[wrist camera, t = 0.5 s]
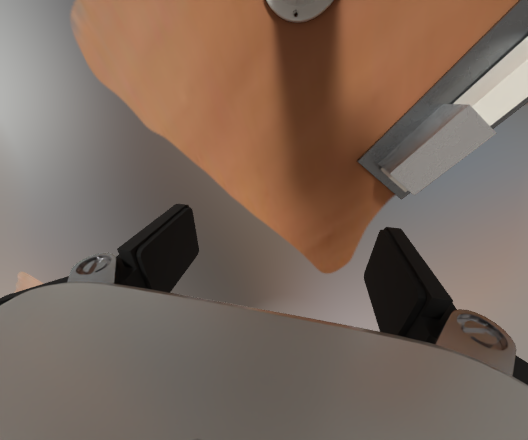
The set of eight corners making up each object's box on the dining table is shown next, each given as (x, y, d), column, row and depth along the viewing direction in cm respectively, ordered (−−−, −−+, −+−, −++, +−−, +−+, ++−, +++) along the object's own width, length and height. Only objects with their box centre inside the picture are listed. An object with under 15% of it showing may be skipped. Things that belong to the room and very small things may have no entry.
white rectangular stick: (395, 182, 39) (405, 192, 35) (380, 169, 39) (388, 177, 34) (556, 48, 27) (602, 38, 23) (539, 25, 27) (582, 11, 22)
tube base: (400, 198, 42) (416, 215, 35) (357, 160, 40) (366, 172, 33) (729, -58, 22) (896, -121, 16) (675, -155, 20) (841, -272, 14)
